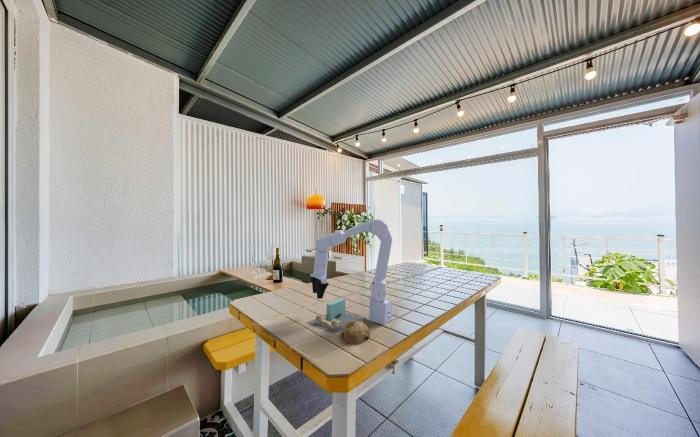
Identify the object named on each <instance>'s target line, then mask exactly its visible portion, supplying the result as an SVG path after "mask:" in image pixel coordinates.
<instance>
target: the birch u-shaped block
mask: <svg viewBox="0 0 700 437" xmlns="http://www.w3.org/2000/svg"><path fill="white" fill-rule="evenodd" d="M324 315H325V314H320V313H319V314H317V315H315V319H316V323H318V324H321V325H324V326H327V327H329V328H332V329H335V330H340V329H341V321H339V320H336V319H333V320H331V322H330V321H327V320H326V316H324Z"/></svg>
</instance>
